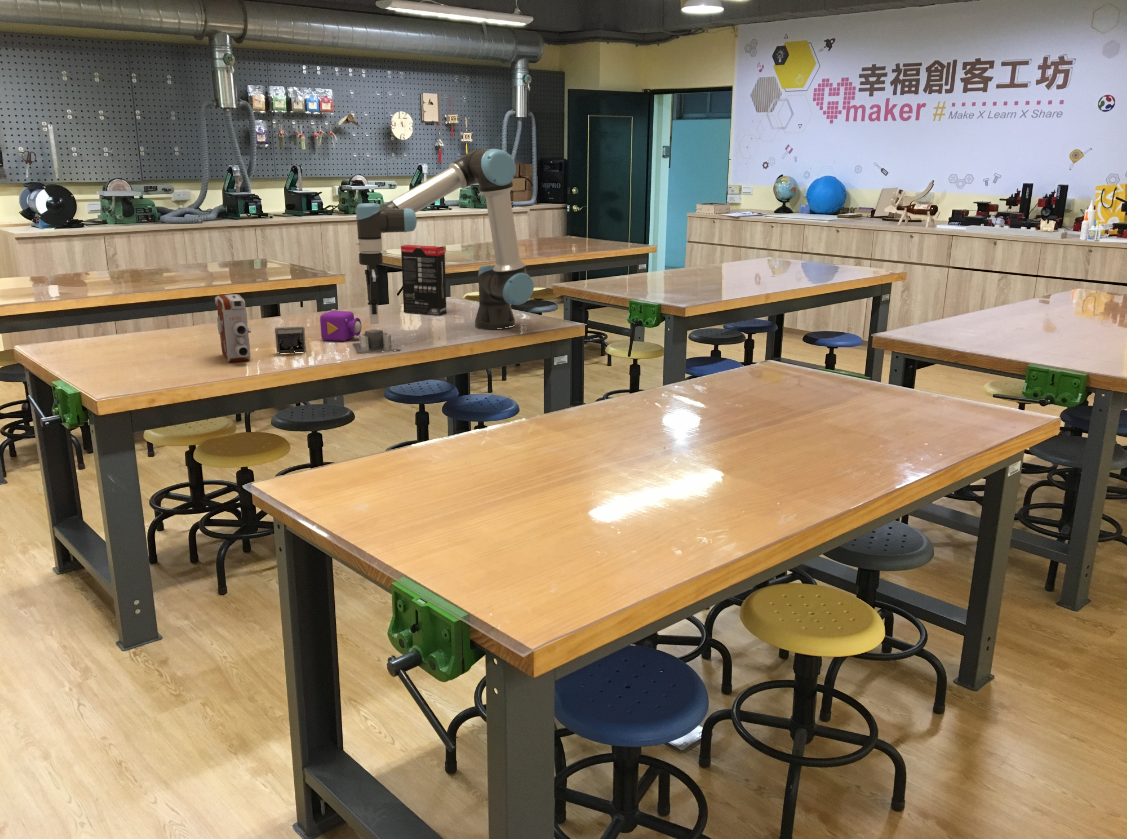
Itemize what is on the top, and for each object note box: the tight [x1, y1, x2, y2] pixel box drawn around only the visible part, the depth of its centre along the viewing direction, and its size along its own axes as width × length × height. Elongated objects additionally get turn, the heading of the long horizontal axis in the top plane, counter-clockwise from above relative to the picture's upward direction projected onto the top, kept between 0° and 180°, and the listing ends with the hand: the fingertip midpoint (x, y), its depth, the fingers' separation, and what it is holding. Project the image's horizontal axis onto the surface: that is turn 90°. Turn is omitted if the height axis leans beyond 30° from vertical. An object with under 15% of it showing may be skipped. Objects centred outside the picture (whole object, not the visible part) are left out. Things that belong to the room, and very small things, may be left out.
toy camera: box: [319, 308, 362, 342], centre depth 316 cm, size 11×14×10 cm
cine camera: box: [214, 293, 252, 363], centre depth 284 cm, size 9×19×20 cm, turn 28°
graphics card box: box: [400, 244, 447, 316], centre depth 363 cm, size 17×7×27 cm, turn 69°
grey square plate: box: [351, 331, 401, 354], centre depth 303 cm, size 14×14×5 cm
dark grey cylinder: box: [364, 329, 384, 348], centre depth 303 cm, size 6×6×5 cm
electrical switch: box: [274, 325, 307, 355], centre depth 294 cm, size 9×5×9 cm, turn 107°
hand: (374, 323), depth 301 cm, fingers closed
